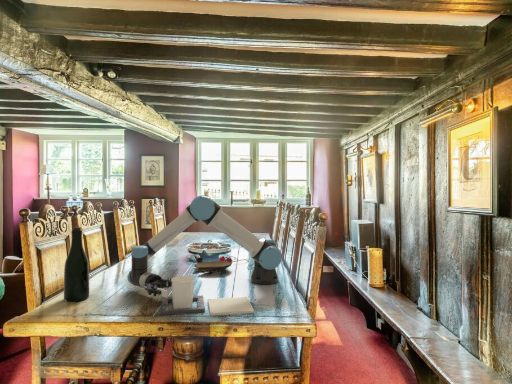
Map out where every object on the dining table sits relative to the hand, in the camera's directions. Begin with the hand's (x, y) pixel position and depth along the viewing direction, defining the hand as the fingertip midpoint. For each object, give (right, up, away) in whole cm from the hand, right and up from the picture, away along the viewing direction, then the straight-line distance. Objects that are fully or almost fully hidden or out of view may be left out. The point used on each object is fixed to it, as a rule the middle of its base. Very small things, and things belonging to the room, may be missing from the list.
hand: (179, 290), depth 150 cm
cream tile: (+22, -7, 0) cm, 23 cm away
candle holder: (+1, -7, -1) cm, 7 cm away
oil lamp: (+5, -7, +66) cm, 66 cm away
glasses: (+18, -7, +91) cm, 92 cm away
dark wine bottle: (-49, -7, +9) cm, 51 cm away
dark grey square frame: (+1, -7, -1) cm, 7 cm away
